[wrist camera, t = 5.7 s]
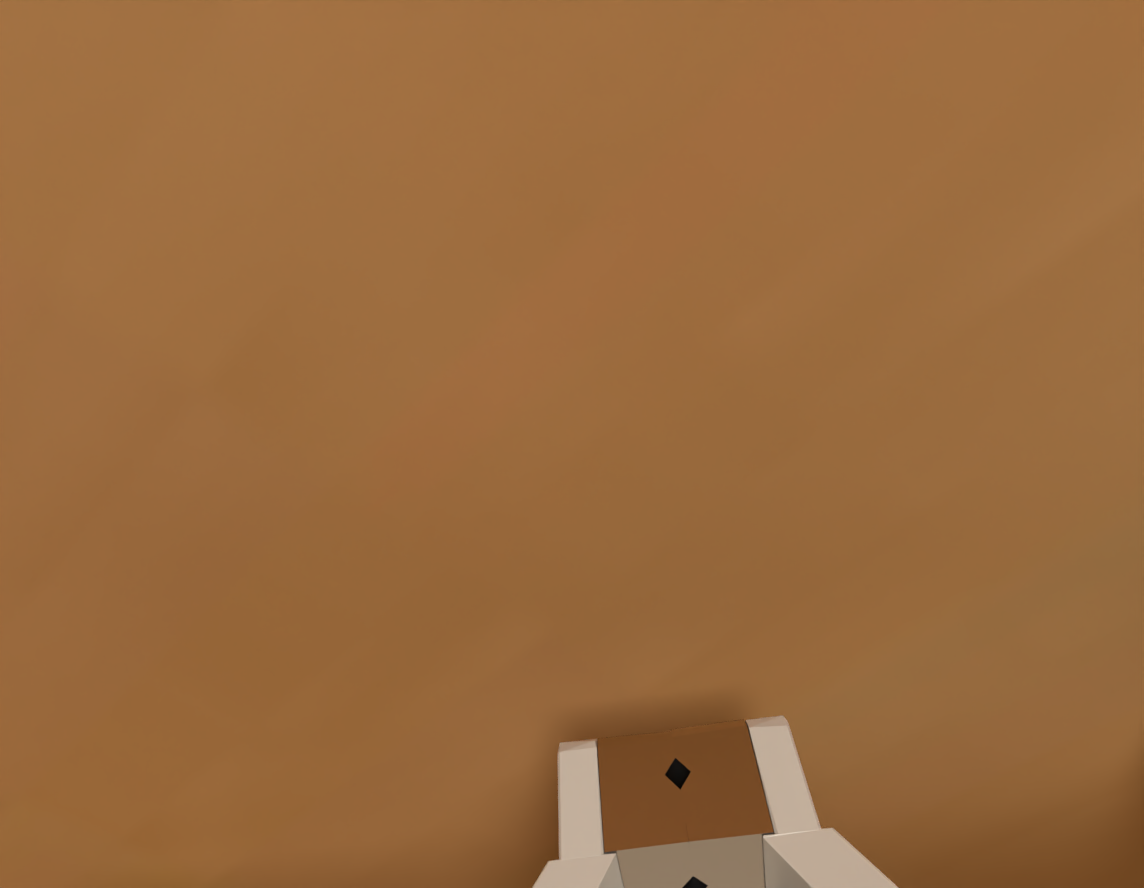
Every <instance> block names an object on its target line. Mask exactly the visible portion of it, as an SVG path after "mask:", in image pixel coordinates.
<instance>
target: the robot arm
mask: <svg viewBox="0 0 1144 888" xmlns="http://www.w3.org/2000/svg"><path fill="white" fill-rule="evenodd" d="M558 818H559V859H557V860H551V861H548V862H547V863H546V865H545V867H544V868H543V870H542V872H541V873H540V875H539V877H538V878H537V880H536V882H535V883H534V885H533V887H532V888H899V887H897V886H896V885H895V884H894V883H893V882H892V881H891V880H890V879H889V878H888V877H886V876H885V875H884V874H883V873H882V872H881V871H880V870H879V869H878V868H877V867H876V866H874V865H873V864H872V863H871V862H870V861H869V860H868V859H867V858H866V857H865V856H863V855H862V854H861V853H860V852H859V851H858V850H857V849H856V848H855V847H854V846H853V845H851V844H850V843H849V842H848V841H847V840H846V839H845V838H844V837H843V836H842V835H840V834H839V833H838V832H837V831H836V830H835V829H834V828H822V829H821V827H820V823H819V820H818V817H817V814H816V811H815V807H814V804H813V801H812V798H811V794H810V791H809V788H808V785H807V782H806V778H805V775H804V772H803V769H802V765H801V762H800V759H799V756H798V753H797V749H796V746H795V743H794V740H793V736H792V733H791V730H790V727H789V724H788V721H787V720H786V719H785V717H784V716H783V715H781V716H773V717H765V718H758V719H750V720H746V721H744V719H743V720H735V721H728V722H721V723H714V724H707V725H700V726H692V727H685V728H678V729H671V731H667V732H657V733H647V734H637V735H626V736H616V737H606V738H598V739H597V738H596V739H587V740H579V741H570V742H562V743H560V744H559V750H558Z"/></svg>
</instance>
